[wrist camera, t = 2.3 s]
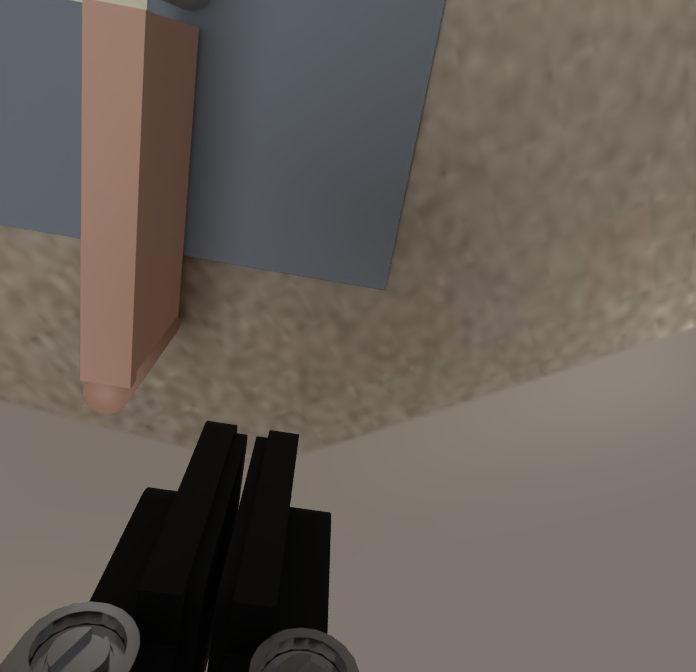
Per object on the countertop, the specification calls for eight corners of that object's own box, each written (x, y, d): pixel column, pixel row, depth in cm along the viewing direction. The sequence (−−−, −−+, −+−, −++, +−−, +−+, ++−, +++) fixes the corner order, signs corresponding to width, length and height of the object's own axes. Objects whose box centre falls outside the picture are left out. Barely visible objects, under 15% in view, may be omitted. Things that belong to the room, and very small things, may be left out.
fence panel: (159, 20, 22) (82, -3, 16) (204, 28, 22) (146, 9, 16) (143, 332, 26) (80, 410, 20) (181, 339, 26) (129, 417, 20)
